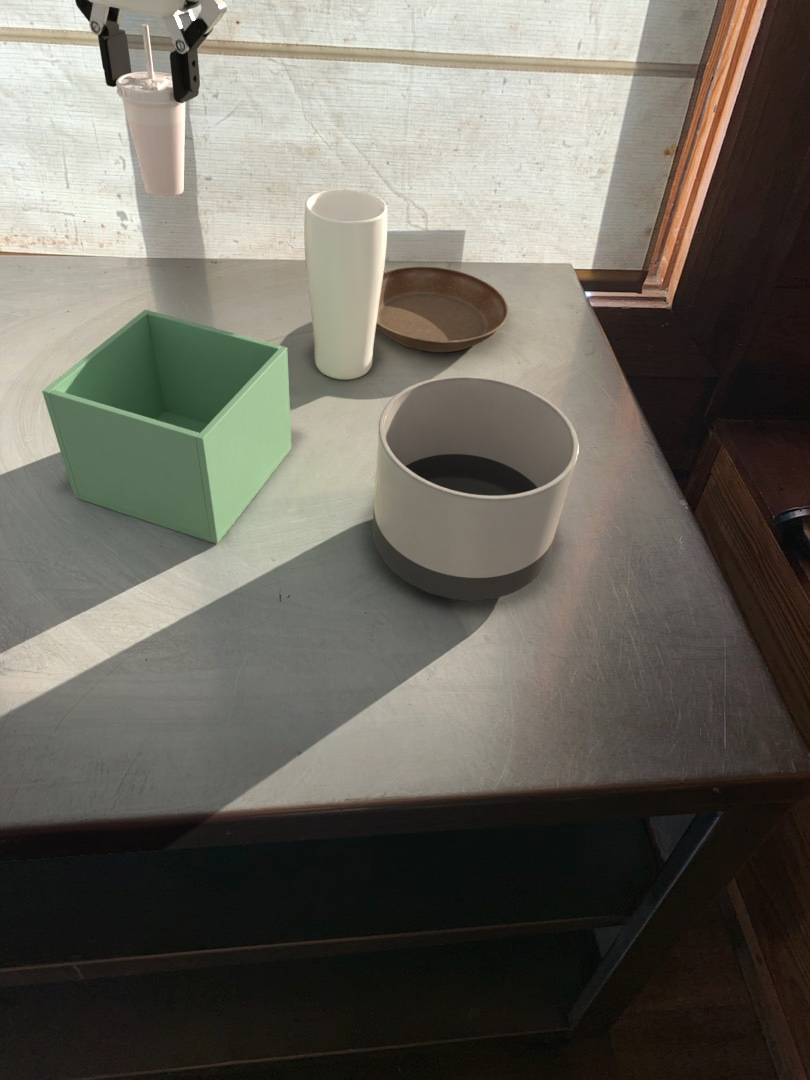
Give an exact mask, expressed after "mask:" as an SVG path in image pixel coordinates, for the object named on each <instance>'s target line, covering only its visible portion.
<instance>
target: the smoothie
mask: <svg viewBox="0 0 810 1080" xmlns="http://www.w3.org/2000/svg"><path fill="white" fill-rule="evenodd" d="M149 30H150V29H149V24H145V23H143V24H141V33H142V41H143V49H144V56H145V66H146V71H135V72H134V71H133V72H132V73H129V74H125V75H122V76H121V77H119V78H118V79H117V80H116V84H117V86H116V94H117V96H118V97H119V98H121V100H122V104H123V108H124V112H125V116H126V119H127V123H128V124H127V125H128V127H129V128H128V129H129V132H130V136H131V140H132V143H133V147H134V151H135V155H136V158H137V162H138V166H139V171H140V174H141V178H142V181H143V185H144V190H145V191H146V193H148V195H151V196H155V197H162V198H169V197H175V196H178V195H181V194H182V193H183V192H184V188H185V187H184V184H185V143H186V142H185V141H186V140H185V139H186V137H185V135H186V133H185V131H186V102H184V103H179V102H176V100H175V99H174V94H173V84H172V74H171V73H167V72H160V71H154V63H153V55H152V46H151V39H150V38H151V37H150V31H149Z"/></svg>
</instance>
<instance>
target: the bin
mask: <svg viewBox="0 0 810 1080" xmlns="http://www.w3.org/2000/svg"><path fill="white" fill-rule="evenodd" d="M289 379H290V378H289V357H288V347H287V346H283V345H279V344H275V343H272V342H268V341H265V340H261V339H257V338H254V337H249V336H245V335H242V334H238V333H234V332H232V331H231V332H230V331H227V330H223V329H219V328H216V327H213V326H208V325H206V324H205V325H204V324H201V323H197V322H194V321H189V320H186V319H182V318H179V317H174V316H172V315H167V314H163V313H159V312H156V311H152V310H148V309H144V310H143V311H141V312H140V313H138V314H137V315H136V316H135V317H133V318H131V320H129V322H128V323H126V324H125V325H124V326H122V327H121V328H120V329H119V330H117V331H116V332H115V333H114V334H112V335H111V336H110V337H109V338H107V339H106V340H104V341H103V342H102V343H101V344H99V345H98V346H97V347H95V348H94V349H93V350H92V351H91V352H89V353H88V354H87V355H85V356H84V357H83V358H81V359H80V361H78V362H76V364H74V365H73V366H72V367H71V368H69V369H68V370H66V372H64V373H63V374H61V375H60V376H59V377H58V378H56V379H54V381H53V382H51V383H50V384H49V385H48V386H46V387H45V388H44V389H43V390H42V396H43V399H44V402H45V405H46V408H47V412H48V415H49V419H50V422H51V425H52V428H53V432H54V435H55V438H56V441H57V442H56V443H57V445H58V449H59V452H60V454H61V458H62V461H63V464H64V467H65V470H66V474H67V477H68V481H69V484H70V487H71V491H72V494H73V496H74V498H75V499H78V500H81V501H84V502H86V503H87V502H88V503H91V504H93V505H96V506H100V507H102V508H105V509H109V510H112V511H115V512H117V513H120V514H124V515H126V516H131V517H133V518H137V519H139V520H142V521H145V522H149V523H152V524H154V525H158V526H160V527H164V528H166V529H170V530H172V531H176V532H179V533H182V534H186V535H188V536H190V537H194V538H197V539H200V540H203V541H206V542H209V543H213V544H215V545H219V543H220V542H221V541H222V539H223V538H224V537H225V535H226V534H228V532H229V530H230V529H231V528H232V526H233V525H234V524H235V522H236V521H237V520H238V519H239V517H240V516H241V515H242V514H243V512H244V511H245V510H246V508H247V507H248V506H249V505H250V503H251V502H252V501H253V499H254V498H255V497H256V495H257V494H258V493H259V492H260V490H261V489H262V488H263V486H264V485H265V484H266V482H267V481H268V480H269V478H270V477H271V476H272V475H273V473H274V472H275V471H276V469H277V468H278V467H279V466H280V464H281V463H282V462H283V460H284V459H285V458H286V457H287V455H289V453H290V452H291V450H292V428H291V427H292V426H291V406H290V405H291V404H290V403H291V402H290V382H289V381H290V380H289Z"/></svg>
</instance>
